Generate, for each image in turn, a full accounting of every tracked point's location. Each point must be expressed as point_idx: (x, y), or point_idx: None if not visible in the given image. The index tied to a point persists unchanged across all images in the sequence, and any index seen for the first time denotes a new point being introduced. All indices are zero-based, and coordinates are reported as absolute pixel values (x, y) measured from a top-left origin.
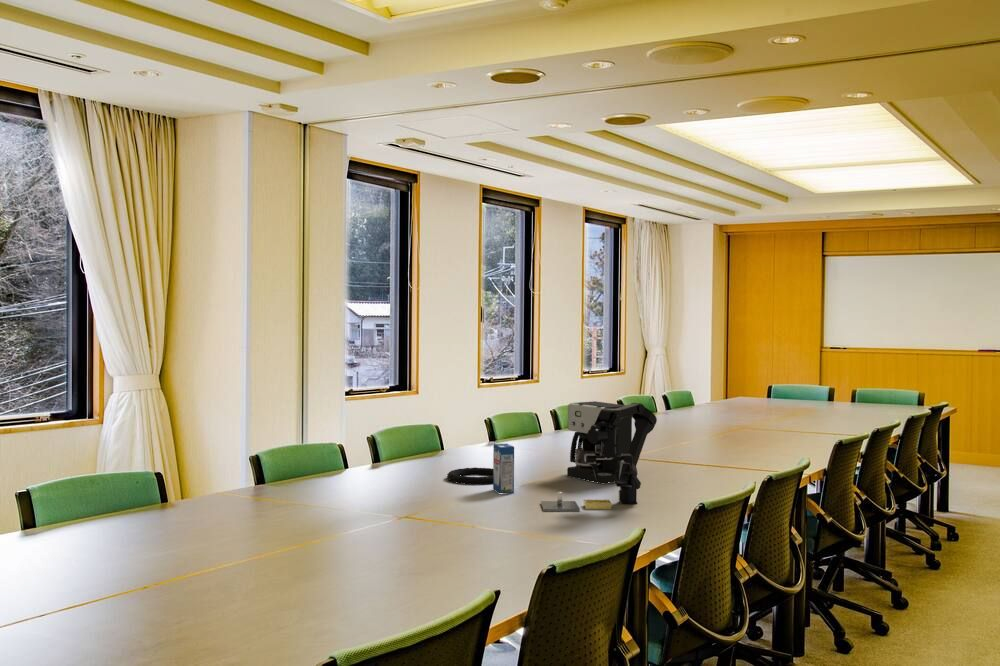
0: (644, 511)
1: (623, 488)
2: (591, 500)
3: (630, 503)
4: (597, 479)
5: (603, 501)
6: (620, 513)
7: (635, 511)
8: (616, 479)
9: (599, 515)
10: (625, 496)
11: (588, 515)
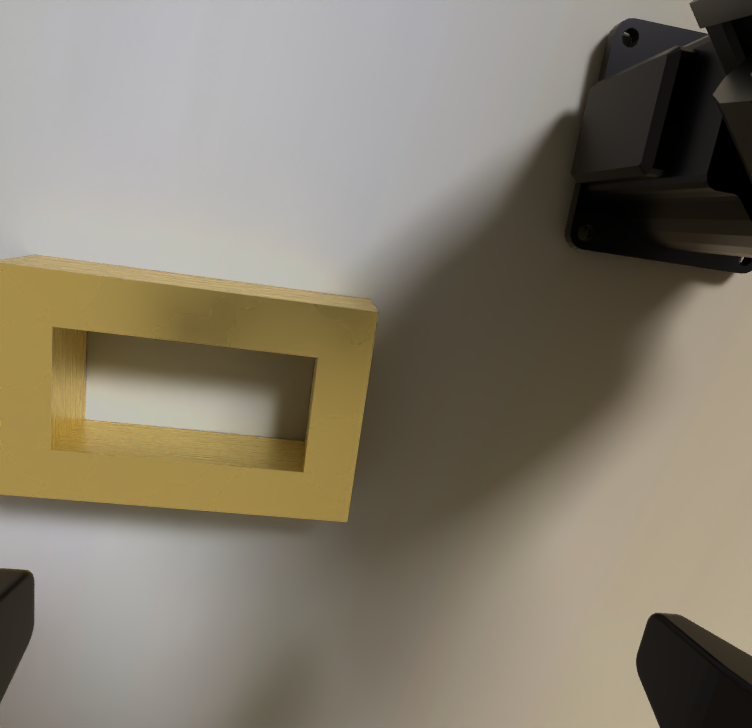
0: (645, 600)
1: (733, 195)
2: (106, 332)
3: (667, 261)
4: (20, 656)
5: (289, 350)
6: (379, 661)
7: (560, 594)
8: (738, 130)
9: (138, 725)
10: (668, 229)
11: (18, 721)
